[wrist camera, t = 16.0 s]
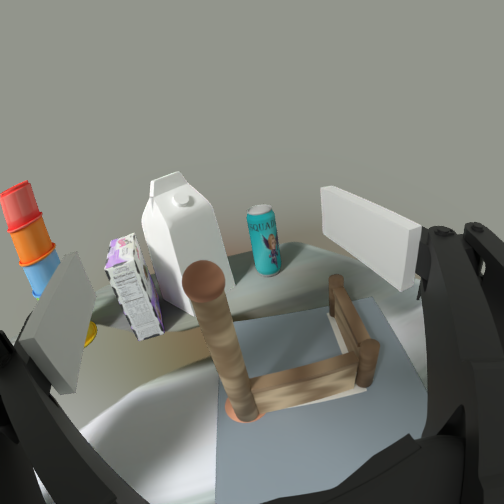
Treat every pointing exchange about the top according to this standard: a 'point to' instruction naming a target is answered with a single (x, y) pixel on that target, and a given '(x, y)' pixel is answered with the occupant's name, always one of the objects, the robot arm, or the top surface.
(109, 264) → the candy box
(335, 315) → the fence fixed
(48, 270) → the stacking cups
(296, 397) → the folding fence panel
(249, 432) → the card
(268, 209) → the beverage can
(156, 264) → the milk
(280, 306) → the top surface
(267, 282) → the top surface
